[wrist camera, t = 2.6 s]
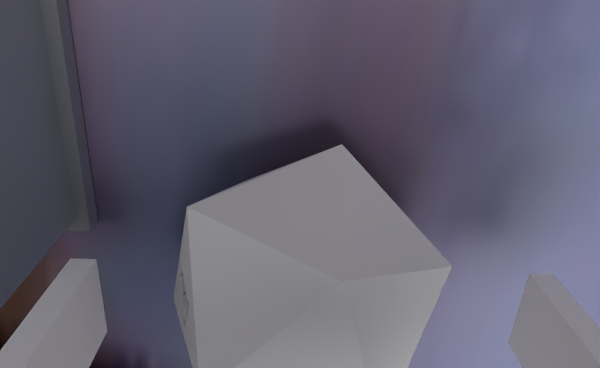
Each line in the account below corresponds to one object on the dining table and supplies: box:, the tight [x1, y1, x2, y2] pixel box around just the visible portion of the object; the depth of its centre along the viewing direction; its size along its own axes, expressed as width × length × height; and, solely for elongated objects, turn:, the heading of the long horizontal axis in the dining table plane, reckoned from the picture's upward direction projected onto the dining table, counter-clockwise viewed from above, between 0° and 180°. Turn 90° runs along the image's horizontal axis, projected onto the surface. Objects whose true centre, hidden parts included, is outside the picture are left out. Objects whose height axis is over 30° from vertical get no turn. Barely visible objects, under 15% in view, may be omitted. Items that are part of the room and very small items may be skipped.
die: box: [173, 144, 452, 368], centre depth 16 cm, size 8×9×10 cm
